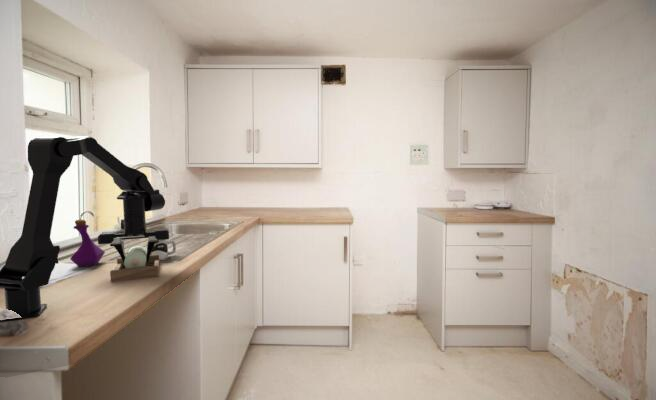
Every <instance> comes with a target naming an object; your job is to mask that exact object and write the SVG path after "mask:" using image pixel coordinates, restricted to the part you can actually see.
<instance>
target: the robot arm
mask: <svg viewBox="0 0 656 400" xmlns="http://www.w3.org/2000/svg"><path fill="white" fill-rule="evenodd" d="M75 156H76V157H77V156H83V157H85V159H87V160H88V161H90V162H91V163H92V164H94V165H96V166H97V167H98V168H100V169H101V170H102V171H103V172H105V173H106V174H108V175H109V176H111V177H112V180H113V182H114V184H115V185H116V186H117V187H118V188H119V189H120V190H121V193H120V194H119V195H117V197H116V200H120V201H121V200H122V203H123V205H122V207H123V209H122V210H123V219H121V220H120V230H121V231H124V233H117V232H116V230H115V231H114V230H113V231H102V232H101V233H99V235H98V236H97V245H109V246H110V247H114V248H115V250H116V252H117V253H118V254H119V257H120V258H122V260H123V262H124V260H125V258H126V256H127V254H126V250H125V244H124V240H133V239H134V240H137V239H148V240H147V241H148V248H147V247H146V250H147V257H146V260H147V262H148V261H149V257H150V254H151V251H152V249H153V247H154V245H155V243H159V240H166V239H167V240H169V239H170V230H169V229H168V227H163V228H155V229H154V231H147V222H146V212H150V211H151V212H154V211H159V210H162V209H163V208H164V207H165V205H166V199H165V197H164V195H163V194H162V193H160V189H154V187H153V185H152V184H151V182H150V181H149V179H148V176H147V174H145V173H144V172H142V171H140V170H138V169H137V168H133V167H130V166H128V165H126V164H125V163H123V162H122V161H121V160H119V159H118V158H117V157H116V156H115V155H114V154H112V153H111V152H110V151H109V150H107V149H106V148H105V147H104V146H102V145H101V144H100V143H98V141H97V139H95V138H94V137H92V136H74V137H71V138H65V137H62V136H43V137H42V136H40V137H39V136H38V137H35V138H33V139H31V140H30V141H29V143H28V145H27V162H28V164H29V167H30V169H31V171H32V177H31V183H30V188H29V194H28V200H27V205H26V210H25V216H24V220H23V221H24V222H23V226H22V231H21V235H20V237H19V238H18V240H16V241H15V243H14V244H13V245H12V246H11V248H10V249H9V252H8V255H7V257H6V260H5V262H4V263H5V264H4V265H3V266H2V267H1V269H0V288H1V289H4V301H5V302H4V303H5V310H6V309H8V310H12V311H14V312H16V313H17V314H19V315H20V316H21V317H22V318H21V319H26V318H33V317H38V316H40V314H41V313H42V312H43V311H44V310H45V308H47V306H48V304H47V303H42V299H41V287H45V286H47V285H49V282H50V279H51V276H52V273H53V272H54V269H55V266H56V264H59V254H60V251H61V250H60V249H61V246H60V245H56V244H53V242H52V239H51V233H52V228H53V221H54V215H55V211H56V210H55V209H56V203H57V201H58V200H57V199H58V194H59V188H60V181H61V177H62V176H63V174H64V173H65V172H66V171H67V170H68V169H69V168H70V166H71V164H72V162H73V158H74V157H75Z"/></svg>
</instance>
